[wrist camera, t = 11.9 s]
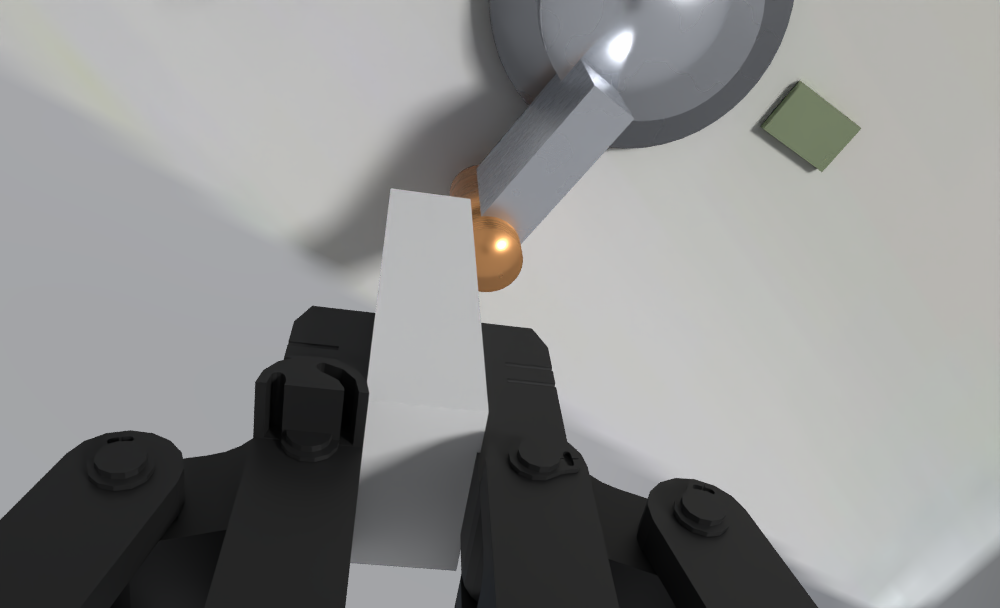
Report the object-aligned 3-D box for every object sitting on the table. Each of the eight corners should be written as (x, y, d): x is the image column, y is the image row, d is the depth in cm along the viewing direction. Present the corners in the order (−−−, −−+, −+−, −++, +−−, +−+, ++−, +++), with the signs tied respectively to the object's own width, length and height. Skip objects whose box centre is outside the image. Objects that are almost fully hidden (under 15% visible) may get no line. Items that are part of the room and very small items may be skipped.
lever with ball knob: (642, -172, 25) (685, -165, 21) (795, -15, 28) (863, 21, 23) (382, 160, 30) (372, 223, 25) (534, 267, 32) (549, 342, 28)
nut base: (517, -204, 25) (519, -204, 25) (952, -120, 27) (962, -118, 27) (468, 121, 30) (469, 127, 30) (839, 174, 32) (845, 180, 32)
